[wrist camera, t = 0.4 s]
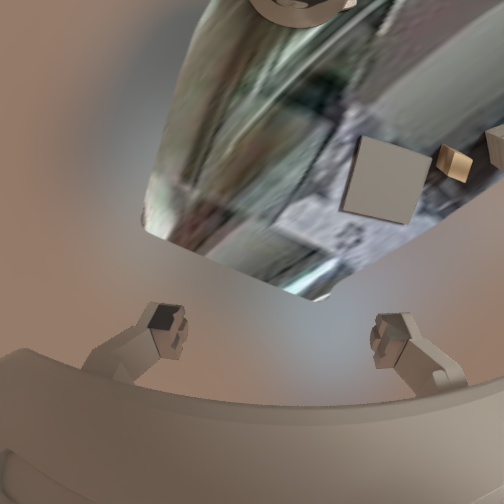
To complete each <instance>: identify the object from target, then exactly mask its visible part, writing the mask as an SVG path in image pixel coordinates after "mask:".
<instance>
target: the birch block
mask: <svg viewBox="0 0 504 504" xmlns="http://www.w3.org/2000/svg"><path fill="white" fill-rule="evenodd" d="M472 162H473V160H472V159H470V158H469V157H467V156H466V155H464V154H463V153H461V152H459V151H457V150H455V149H453V148H450V147H448V146H446V145H444V144H442V146H441V149H440V152H439V156H438V159H437V162H436V165H435V166H436V167H437V168H439V169H440V170H441V171H442V172H444V173H445V174H446V175H447V176H450V177H452V178H455V179H457V180H460V181H462V182H464V183H465V182H466V179H467V176H468V173H469V171H470V168H471V165H472Z"/></svg>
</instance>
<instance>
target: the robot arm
mask: <svg viewBox="0 0 504 504" xmlns="http://www.w3.org/2000/svg"><path fill="white" fill-rule="evenodd" d="M249 1H250V2H251V3H252V5H253V6H254V8H255V9H256V10H257V11H258V12H259V13H260V14H261V15H262V16H263V17H265V18H266V19H268V20H270V21H272V22H274V23H276V24H279V25H282V26H286V27H292V28H308V27H313V26H317V25H320V24H322V23H324V22H326V21H328V20H329V19H331V18H332V17H333V16H334V15H336V14H337V13H338V12H340V11H344V10H348V9H351V8H353V7H355V5H356V2H357V1H356V0H249ZM184 315H185V309H184V306H182V305H174V304H166V303H157V302H150V303H149V304H148V305H147V307H146V309H145V310H144V312H143V314H142V316H141V318H140V319H139V321H138V323H137V324H136V326H131V327H130V328H128V329H126V330H125V331H123V332H121V333H120V334H118V335H116V336H115V337H113V338H111V339H110V340H108V341H106V342H105V343H103V344H101V345H99V346H98V347H96V348H94V349H93V350H92V351H91V353H90V354H89V356H88V358H87V359H86V361H85V363H84V365H83V366H82V368H81V369H78V368H75V367H73V366H70V365H67V364H64V363H62V362H59V361H56V360H54V359H51V358H49V357H47V356H44V355H41V354H39V353H37V352H35V351H33V350H31V349H28V348H21V349H18V350H16V351H14V352H11V353H9V354H7V355H5V356H4V357H2V358H0V504H504V376H501V377H499V378H495V379H492V380H489V381H486V382H483V383H479V384H475V385H472V386H468V383H467V381H466V378H465V376H464V373H463V371H462V369H461V366H460V365H459V364H457V363H456V362H455V361H453V360H452V359H451V358H450V357H448V356H447V355H446V354H445V353H443V352H442V351H441V350H440V349H438V348H437V347H436V346H435V345H433V344H432V343H431V342H429V341H428V340H427V339H425V338H422V337H421V334H420V332H419V330H418V327H417V325H416V323H415V321H414V319H413V316H412V314H411V313H409V312H405V313H382V314H378V315H377V316H376V320H375V322H376V325H375V326H374V327H373V328H372V331H371V335H370V345H371V349H372V350H373V351H375V354H374V356H373V358H374V362H375V366H376V368H377V369H382V368H394V370H395V371H396V372H397V373H398V374H399V375H400V377H401V378H402V379H403V380H404V381H405V382H406V383H407V384H408V385H409V387H410V388H411V389H412V390H413V391H414V392H415V394H416V397H415V398H411V399H403V400H396V401H388V402H379V403H369V404H356V405H340V406H275V405H258V404H245V403H234V402H226V401H217V400H210V399H203V398H196V397H190V396H184V395H178V394H172V393H167V392H163V391H158V390H153V389H148V388H144V387H140V386H136V385H135V384H134V381H135V380H136V379H137V378H139V376H141V375H142V374H143V373H144V372H146V371H147V370H148V369H149V368H150V367H151V366H153V365H154V364H155V363H156V362H157V361H158V360H160V358H166V359H173V360H179V358H180V355H181V352H182V350H183V348H182V343H184V342H185V341H186V339H187V336H188V322H187V320H186V319H185V318H184Z"/></svg>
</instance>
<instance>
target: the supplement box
mask: <svg viewBox="0 0 504 504" xmlns="http://www.w3.org/2000/svg"><path fill="white" fill-rule="evenodd" d="M485 135H486V140H487V145H488V150H489V156H490V162H491V164H493V165H494V166H496V167H497V168H498V169H500V170H501V171H503V172H504V124H502V125H500V126H497V127H494V128H492V129H489V130H486V131H485Z"/></svg>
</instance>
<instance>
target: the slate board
mask: <svg viewBox="0 0 504 504" xmlns="http://www.w3.org/2000/svg"><path fill="white" fill-rule="evenodd" d="M431 162H432V158H431V157H429V156H426V155H423V154H420V153H418V152H415V151H412V150H409V149H406V148H403V147H400V146H397V145H394V144H390V143H387V142H384V141H381V140H377V139H374V138H370V137H366V136H363V135H361V139H360V143H359V147H358V151H357V155H356V159H355V163H354V167H353V171H352V174H351V178H350V182H349V185H348V189H347V193H346V196H345V200H344V203H343V207H342V209H343V210H344V211H349V212H354V213H359V214H363V215H368V216H373V217H377V218H381V219H386V220H390V221H394V222H399V223H403V224H407V225H408V224H409V222H410V220H411V217H412V215H413V212H414V210H415V207H416V205H417V202H418V199H419V197H420V194H421V191H422V188H423V186H424V183H425V180H426V177H427V174H428V171H429V168H430V165H431Z"/></svg>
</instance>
